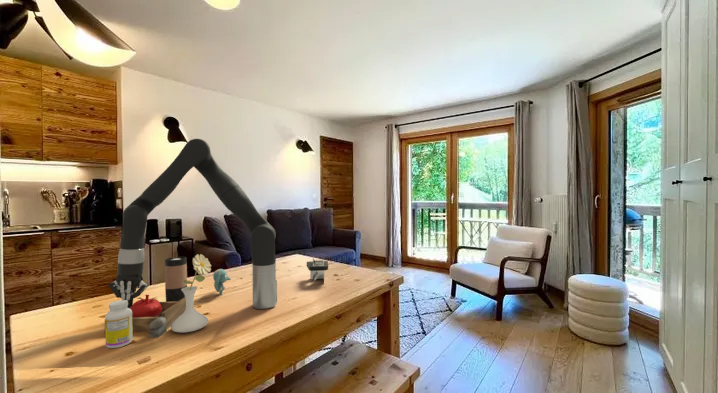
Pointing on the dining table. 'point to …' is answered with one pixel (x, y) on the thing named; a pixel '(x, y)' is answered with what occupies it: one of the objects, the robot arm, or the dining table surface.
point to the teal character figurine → (220, 280)
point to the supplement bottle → (118, 324)
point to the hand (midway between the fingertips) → (126, 309)
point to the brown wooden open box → (160, 319)
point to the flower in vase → (191, 317)
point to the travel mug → (175, 278)
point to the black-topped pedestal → (317, 269)
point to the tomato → (146, 308)
